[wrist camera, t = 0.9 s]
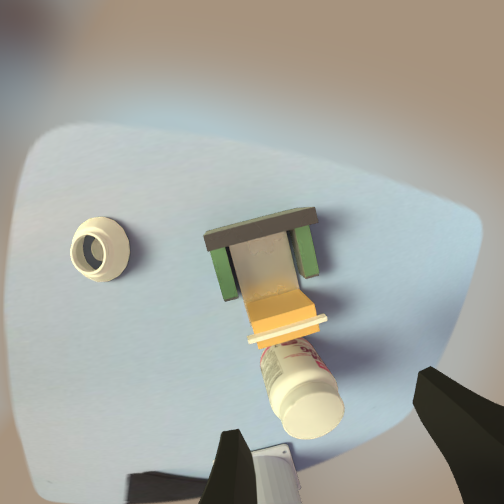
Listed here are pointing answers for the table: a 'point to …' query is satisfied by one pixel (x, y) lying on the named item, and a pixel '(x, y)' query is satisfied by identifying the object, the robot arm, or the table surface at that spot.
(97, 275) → the white jar
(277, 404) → the pill bottle
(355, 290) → the table surface
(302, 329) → the orange block with lip
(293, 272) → the grey drawer frame
